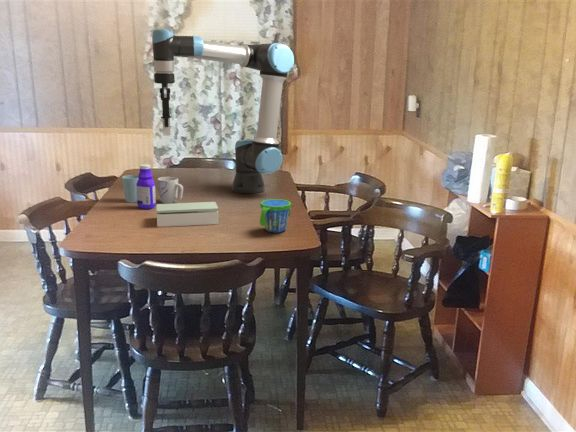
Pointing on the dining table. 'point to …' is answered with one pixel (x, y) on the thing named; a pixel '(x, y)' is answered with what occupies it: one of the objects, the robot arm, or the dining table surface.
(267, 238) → the dining table surface
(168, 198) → the mug
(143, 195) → the bottle
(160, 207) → the cover
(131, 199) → the cup
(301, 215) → the dining table surface
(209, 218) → the grey rectangular box
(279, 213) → the snack cup
